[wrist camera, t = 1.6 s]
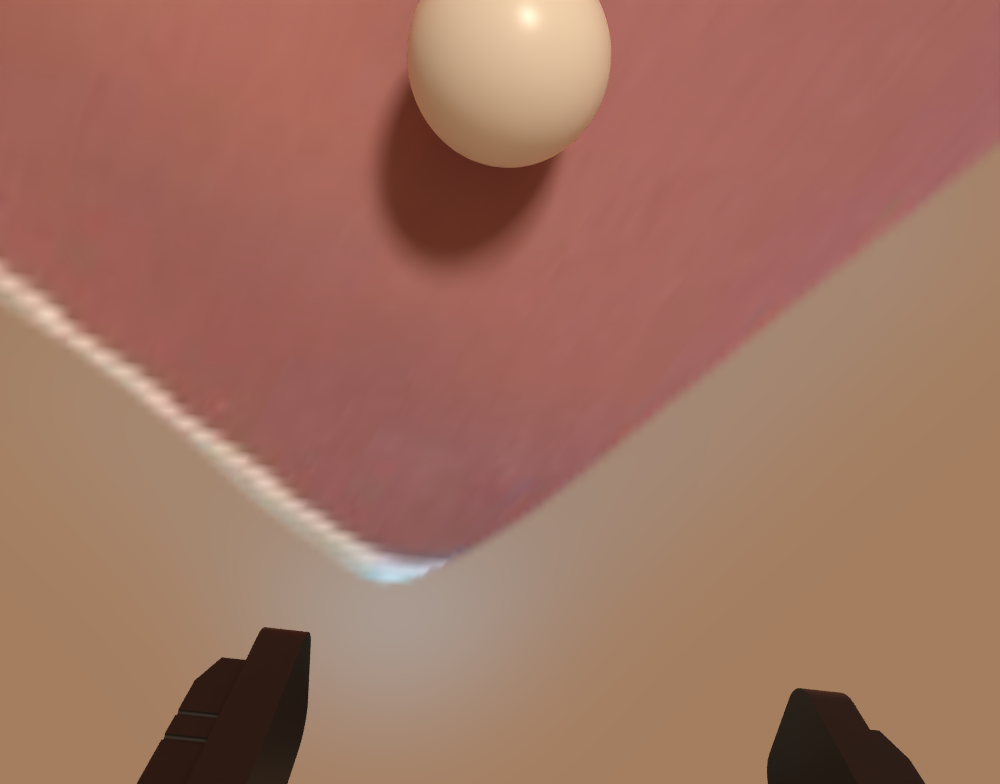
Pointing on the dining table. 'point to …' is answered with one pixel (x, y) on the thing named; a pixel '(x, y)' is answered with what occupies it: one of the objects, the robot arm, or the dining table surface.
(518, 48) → the cue ball
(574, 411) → the dining table surface
